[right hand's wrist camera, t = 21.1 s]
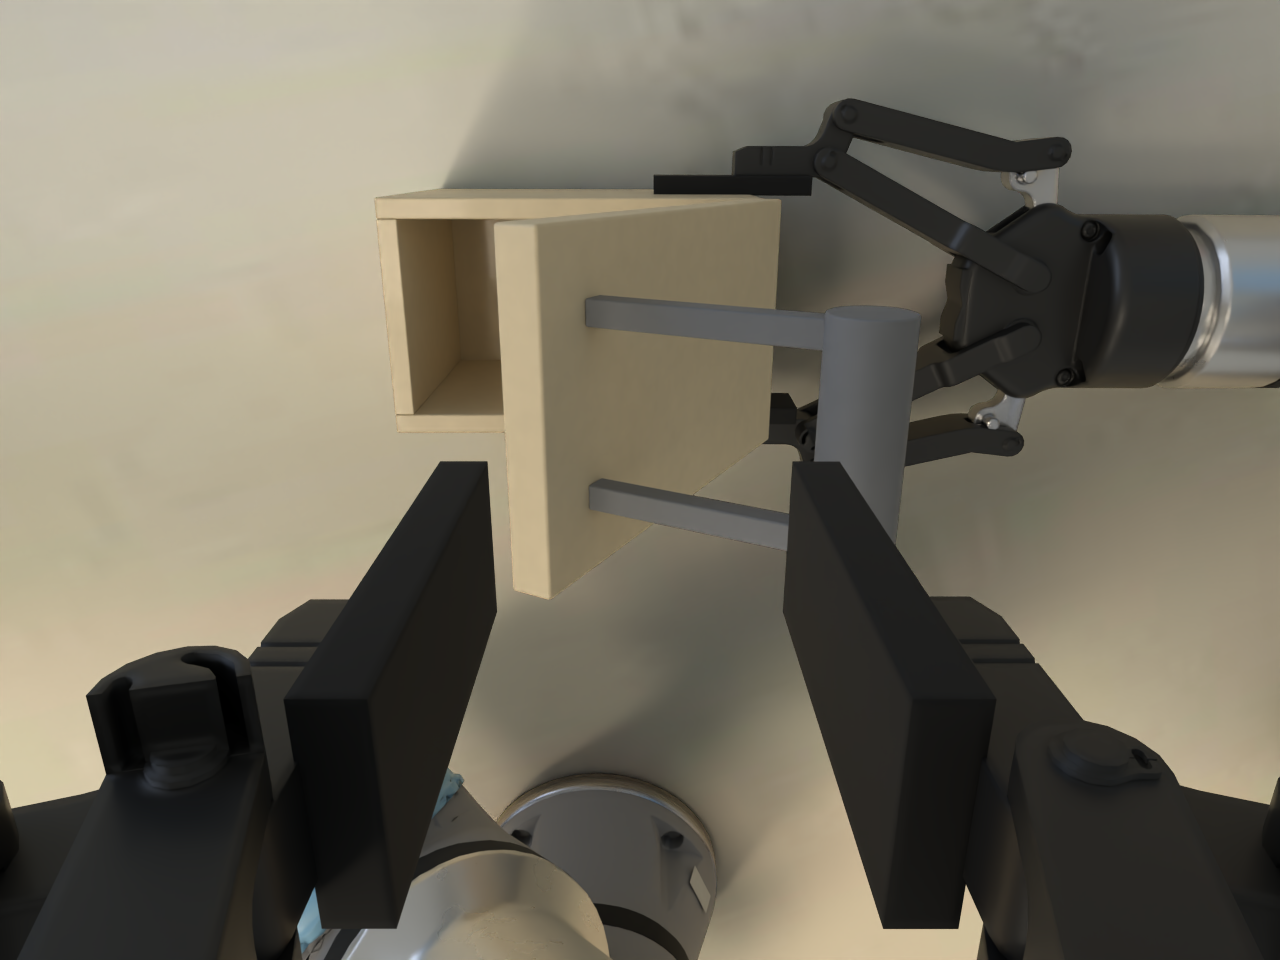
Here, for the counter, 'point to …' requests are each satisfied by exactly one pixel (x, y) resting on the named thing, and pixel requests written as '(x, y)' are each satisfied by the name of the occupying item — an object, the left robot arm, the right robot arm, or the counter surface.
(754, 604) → the counter surface
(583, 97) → the counter surface
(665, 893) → the left robot arm
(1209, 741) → the counter surface
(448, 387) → the chest
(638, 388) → the lid
